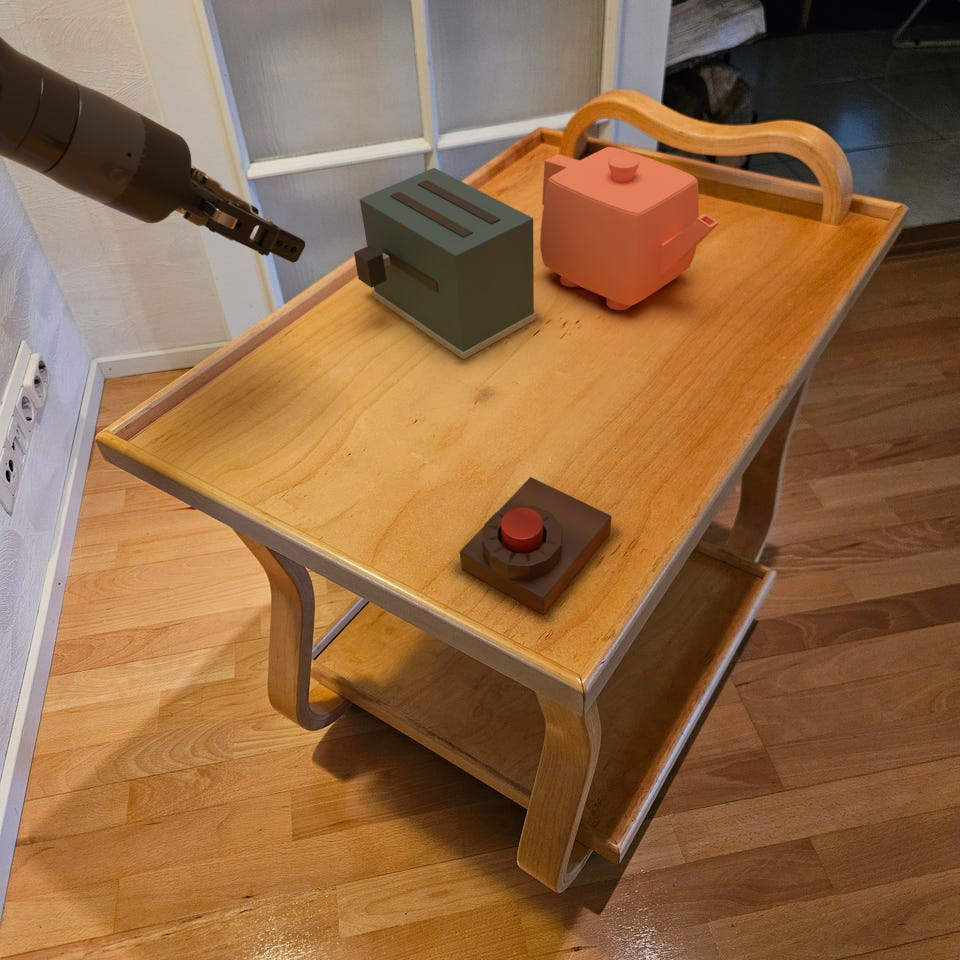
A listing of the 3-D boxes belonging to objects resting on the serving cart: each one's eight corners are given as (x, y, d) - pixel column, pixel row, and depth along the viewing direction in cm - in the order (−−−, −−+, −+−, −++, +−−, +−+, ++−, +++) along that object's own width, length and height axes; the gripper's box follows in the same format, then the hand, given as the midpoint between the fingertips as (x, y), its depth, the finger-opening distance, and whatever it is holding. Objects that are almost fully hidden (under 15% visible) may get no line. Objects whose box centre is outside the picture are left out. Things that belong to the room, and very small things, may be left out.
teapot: (732, 292, 92) (756, 170, 82) (661, 343, 86) (678, 218, 76) (582, 227, 104) (586, 112, 93) (511, 268, 98) (508, 151, 88)
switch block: (543, 616, 63) (543, 584, 60) (460, 569, 67) (457, 537, 64) (610, 533, 69) (613, 500, 66) (530, 493, 72) (530, 461, 69)
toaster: (463, 360, 86) (455, 255, 77) (372, 296, 95) (356, 197, 86) (536, 319, 90) (536, 216, 82) (443, 262, 100) (434, 164, 91)
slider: (371, 288, 86) (366, 261, 84) (358, 279, 88) (353, 252, 86) (395, 276, 88) (392, 249, 86) (382, 267, 89) (378, 241, 87)
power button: (527, 560, 62) (527, 545, 61) (493, 542, 64) (492, 527, 63) (550, 533, 64) (551, 518, 63) (517, 516, 66) (516, 501, 64)
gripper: (172, 136, 59) (336, 225, 72) (96, 85, 67) (256, 173, 80) (129, 231, 61) (297, 301, 74) (60, 170, 69) (222, 243, 82)
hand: (275, 234), depth 77 cm, fingers open, 8 cm apart
